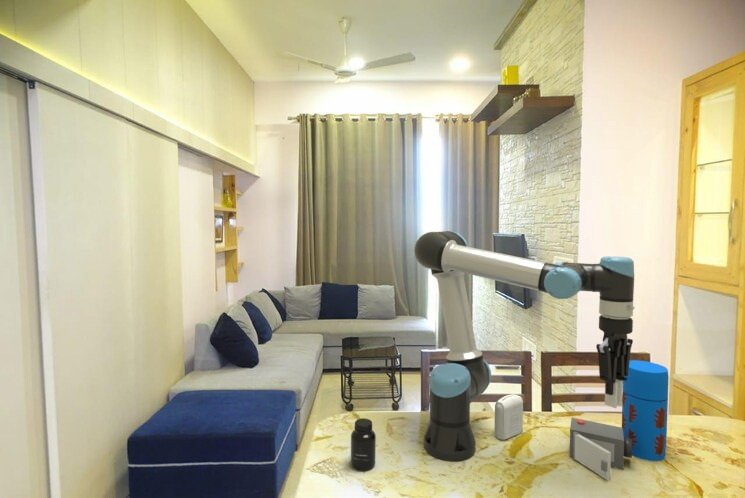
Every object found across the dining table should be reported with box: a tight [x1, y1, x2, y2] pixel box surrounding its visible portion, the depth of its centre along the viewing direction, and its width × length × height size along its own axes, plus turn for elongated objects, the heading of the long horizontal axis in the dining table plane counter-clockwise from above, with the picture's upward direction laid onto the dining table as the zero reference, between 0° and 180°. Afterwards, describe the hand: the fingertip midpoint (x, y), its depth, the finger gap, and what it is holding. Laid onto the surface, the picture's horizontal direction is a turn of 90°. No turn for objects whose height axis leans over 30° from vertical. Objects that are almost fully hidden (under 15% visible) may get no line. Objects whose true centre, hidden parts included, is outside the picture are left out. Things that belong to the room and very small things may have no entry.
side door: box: [572, 432, 612, 481], centre depth 107 cm, size 11×2×8 cm, turn 21°
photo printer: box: [494, 394, 524, 441], centre depth 126 cm, size 10×4×12 cm, turn 123°
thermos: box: [621, 359, 670, 462], centre depth 116 cm, size 11×11×25 cm
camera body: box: [569, 417, 633, 471], centre depth 113 cm, size 15×8×9 cm, turn 61°
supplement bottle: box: [350, 417, 377, 472], centre depth 110 cm, size 7×7×12 cm
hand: (613, 404), depth 105 cm, fingers open, 2 cm apart
